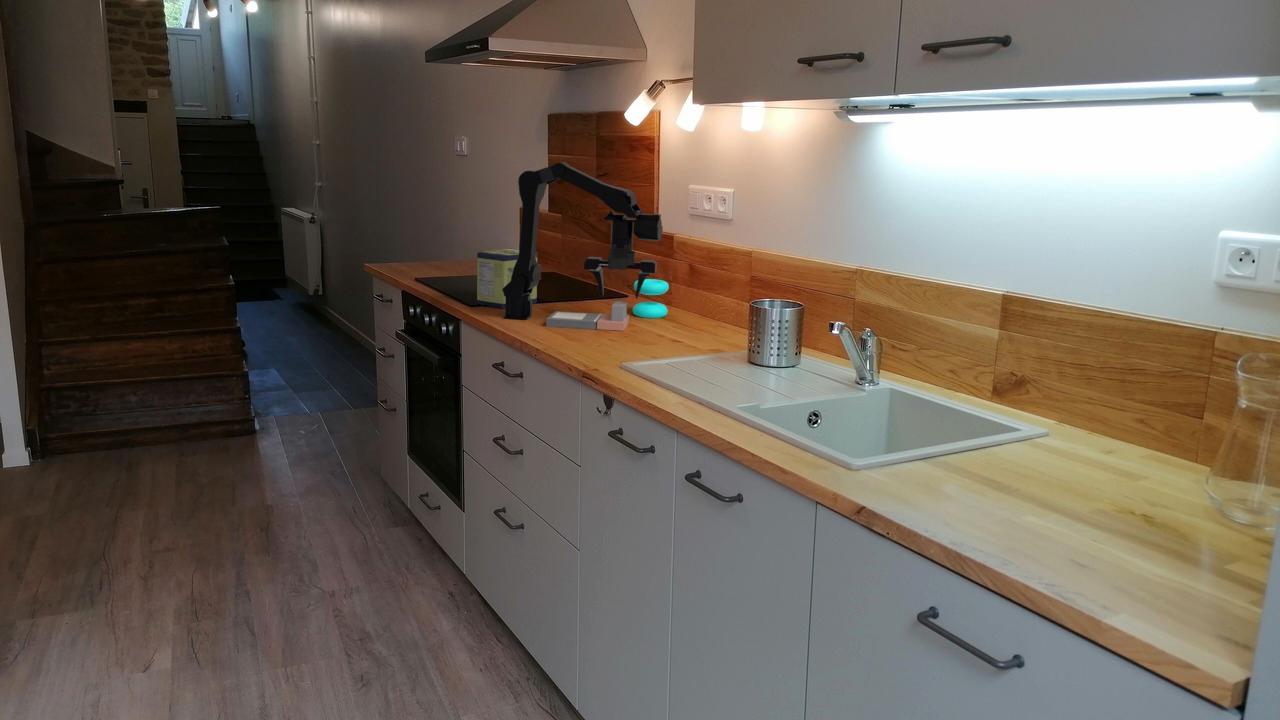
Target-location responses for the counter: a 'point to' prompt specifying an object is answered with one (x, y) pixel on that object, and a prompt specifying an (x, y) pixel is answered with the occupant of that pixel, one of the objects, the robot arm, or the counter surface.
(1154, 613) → the counter surface
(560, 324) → the grey flat box
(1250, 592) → the counter surface
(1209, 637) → the counter surface
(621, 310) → the pink and grey block
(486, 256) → the protein box
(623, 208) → the robot arm
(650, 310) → the donuts
